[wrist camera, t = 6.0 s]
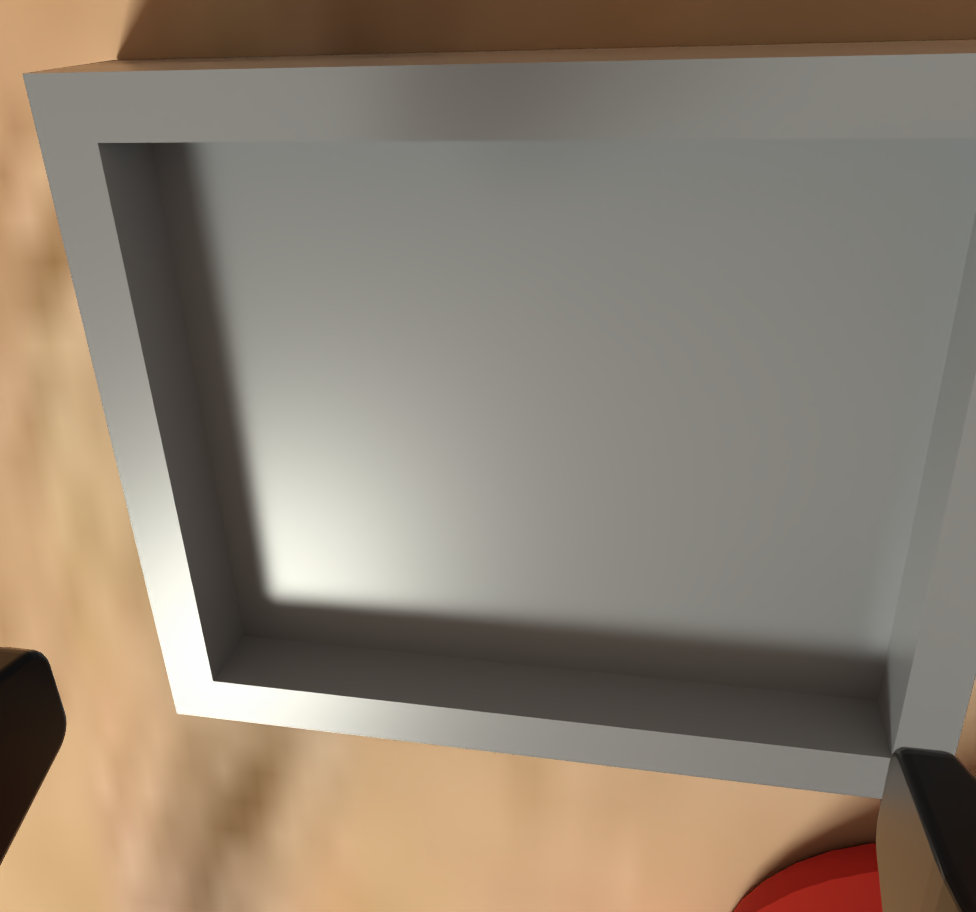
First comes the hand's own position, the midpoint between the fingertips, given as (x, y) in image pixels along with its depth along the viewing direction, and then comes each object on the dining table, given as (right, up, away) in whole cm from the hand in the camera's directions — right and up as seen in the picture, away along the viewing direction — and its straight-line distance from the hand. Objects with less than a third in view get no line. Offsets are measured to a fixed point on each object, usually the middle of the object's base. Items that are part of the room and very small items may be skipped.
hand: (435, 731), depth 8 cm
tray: (+1, +3, +6) cm, 7 cm away
